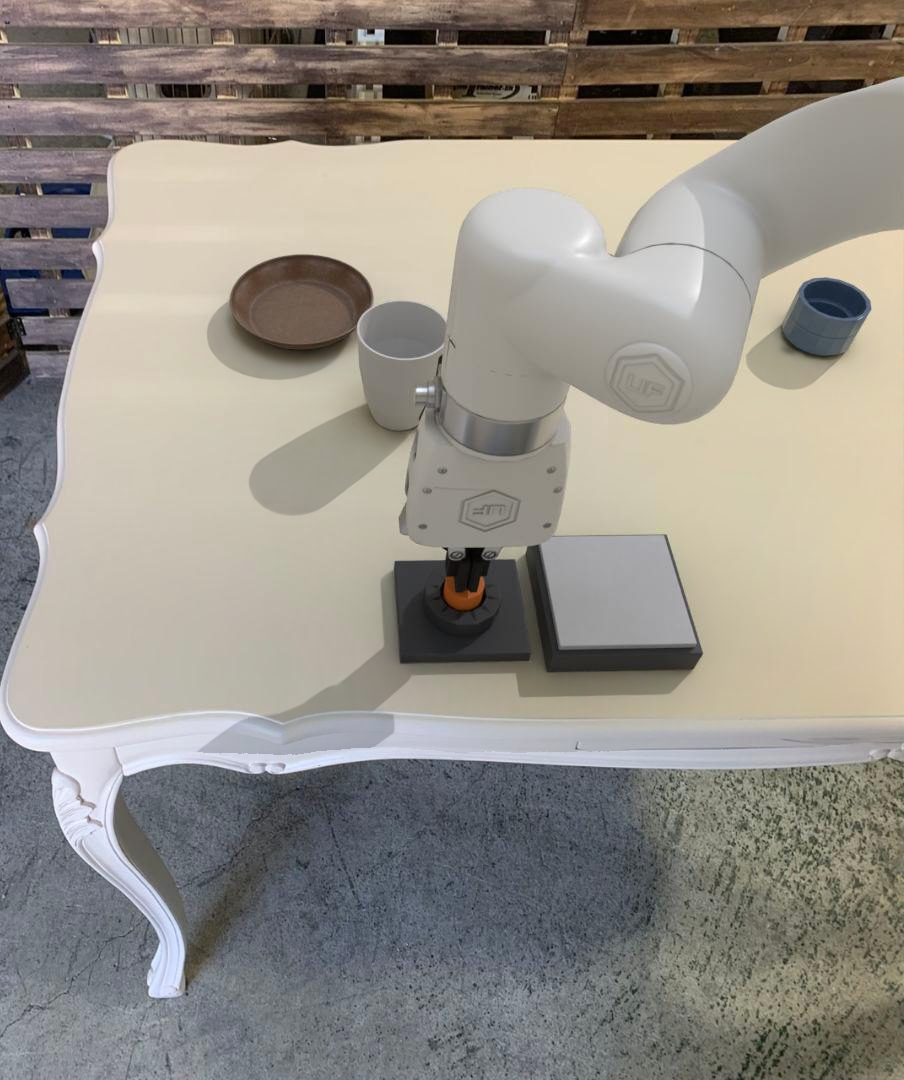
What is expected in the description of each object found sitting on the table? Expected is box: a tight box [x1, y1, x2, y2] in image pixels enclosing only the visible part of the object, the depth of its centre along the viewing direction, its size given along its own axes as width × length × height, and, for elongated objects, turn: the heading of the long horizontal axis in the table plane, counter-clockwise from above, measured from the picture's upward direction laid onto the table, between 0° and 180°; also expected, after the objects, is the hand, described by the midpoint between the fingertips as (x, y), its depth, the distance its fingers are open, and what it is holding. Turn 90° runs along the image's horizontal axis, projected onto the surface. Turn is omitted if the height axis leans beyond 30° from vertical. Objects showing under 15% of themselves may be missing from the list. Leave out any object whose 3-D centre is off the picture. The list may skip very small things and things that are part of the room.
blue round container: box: [781, 276, 872, 357], centre depth 92 cm, size 7×7×5 cm
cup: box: [356, 299, 447, 432], centre depth 82 cm, size 8×8×10 cm
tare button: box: [443, 577, 485, 611], centre depth 69 cm, size 3×3×2 cm
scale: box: [524, 533, 704, 673], centre depth 72 cm, size 12×12×3 cm
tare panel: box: [393, 558, 532, 664], centre depth 71 cm, size 10×9×3 cm
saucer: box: [229, 253, 374, 350], centre depth 93 cm, size 15×15×3 cm
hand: (464, 576), depth 68 cm, fingers closed
